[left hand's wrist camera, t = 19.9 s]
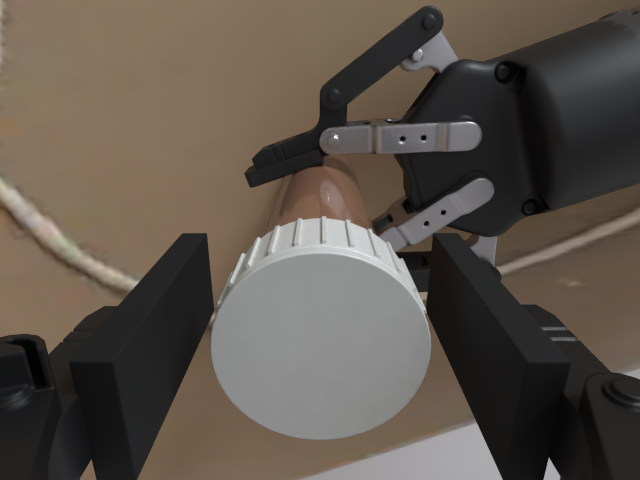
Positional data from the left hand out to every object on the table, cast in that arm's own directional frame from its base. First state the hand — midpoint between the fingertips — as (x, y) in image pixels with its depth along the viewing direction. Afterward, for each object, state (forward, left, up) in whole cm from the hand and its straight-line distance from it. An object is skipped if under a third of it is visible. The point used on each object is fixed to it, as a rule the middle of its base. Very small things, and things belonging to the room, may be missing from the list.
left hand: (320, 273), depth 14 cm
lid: (0, 0, +4) cm, 4 cm away
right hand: (-3, 0, -8) cm, 9 cm away
